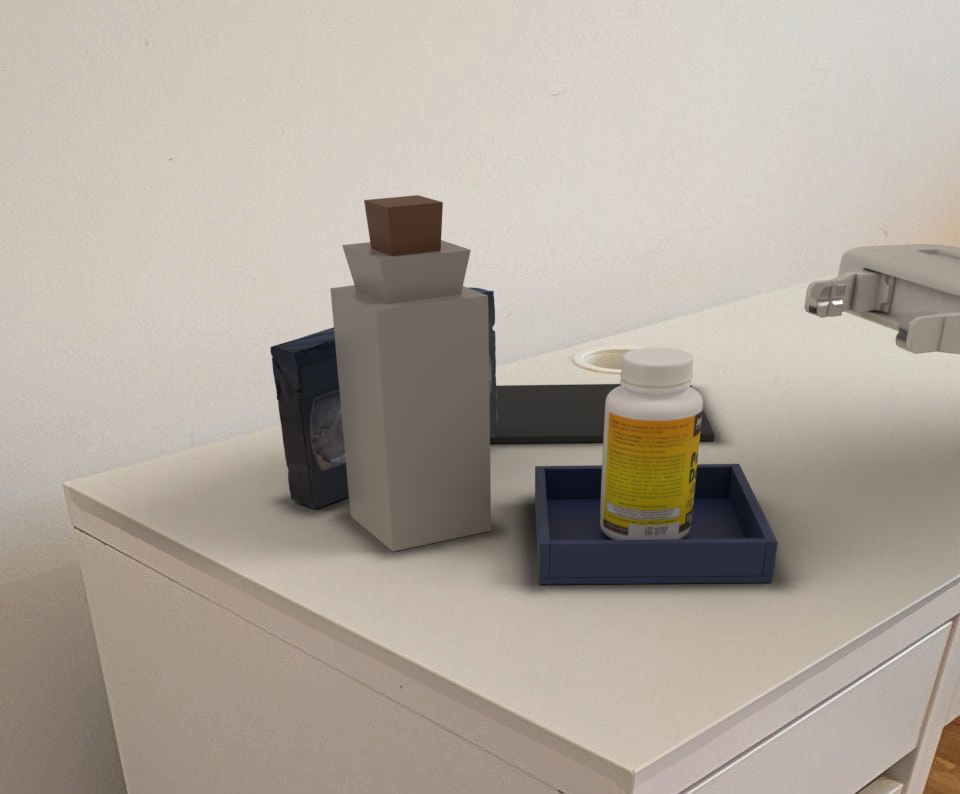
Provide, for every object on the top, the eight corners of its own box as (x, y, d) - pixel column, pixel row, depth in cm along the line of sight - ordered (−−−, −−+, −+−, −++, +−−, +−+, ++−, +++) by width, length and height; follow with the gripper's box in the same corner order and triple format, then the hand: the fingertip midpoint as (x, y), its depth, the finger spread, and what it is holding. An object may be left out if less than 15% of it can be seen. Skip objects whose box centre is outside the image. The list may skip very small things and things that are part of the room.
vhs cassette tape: (313, 511, 75) (292, 351, 68) (285, 501, 76) (261, 343, 70) (504, 437, 85) (500, 291, 78) (475, 429, 86) (469, 285, 80)
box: (735, 500, 75) (739, 463, 73) (772, 582, 64) (778, 542, 63) (534, 502, 75) (535, 465, 74) (538, 584, 65) (539, 544, 63)
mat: (690, 388, 96) (690, 382, 96) (714, 440, 85) (714, 434, 84) (477, 391, 96) (477, 385, 96) (472, 443, 85) (472, 437, 85)
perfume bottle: (350, 516, 74) (322, 199, 63) (444, 497, 76) (432, 189, 65) (392, 551, 69) (369, 214, 58) (491, 530, 71) (486, 203, 61)
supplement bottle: (699, 548, 67) (718, 366, 61) (606, 552, 67) (615, 370, 61) (680, 514, 72) (696, 341, 66) (593, 517, 72) (600, 344, 66)
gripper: (958, 212, 75) (771, 227, 71) (1208, 266, 59) (982, 288, 56) (937, 317, 78) (758, 335, 75) (1166, 393, 63) (953, 421, 59)
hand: (855, 316), depth 65 cm, fingers open, 8 cm apart
